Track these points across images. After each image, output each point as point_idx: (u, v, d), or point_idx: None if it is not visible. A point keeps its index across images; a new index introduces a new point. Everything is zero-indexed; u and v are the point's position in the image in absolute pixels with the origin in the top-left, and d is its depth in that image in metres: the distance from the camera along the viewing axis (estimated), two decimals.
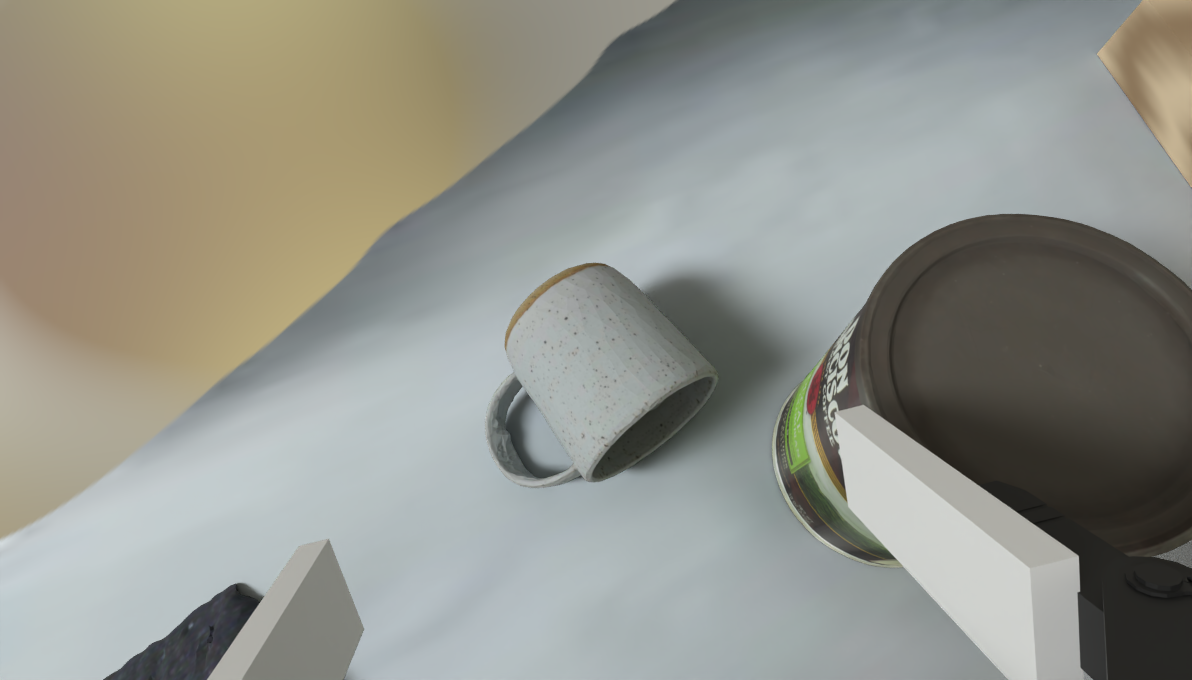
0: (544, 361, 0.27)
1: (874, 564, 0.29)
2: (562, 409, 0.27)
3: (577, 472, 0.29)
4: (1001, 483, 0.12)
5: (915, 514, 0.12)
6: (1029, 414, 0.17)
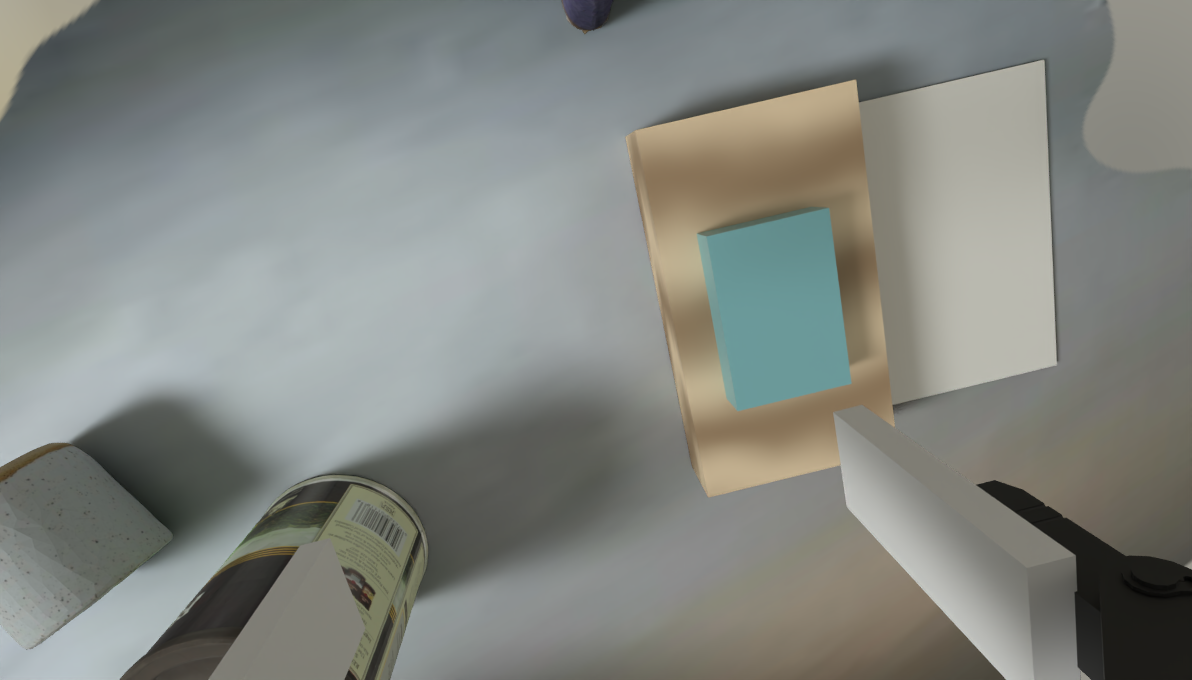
0: None
1: None
2: None
3: None
4: (998, 483, 0.12)
5: (913, 514, 0.12)
6: None
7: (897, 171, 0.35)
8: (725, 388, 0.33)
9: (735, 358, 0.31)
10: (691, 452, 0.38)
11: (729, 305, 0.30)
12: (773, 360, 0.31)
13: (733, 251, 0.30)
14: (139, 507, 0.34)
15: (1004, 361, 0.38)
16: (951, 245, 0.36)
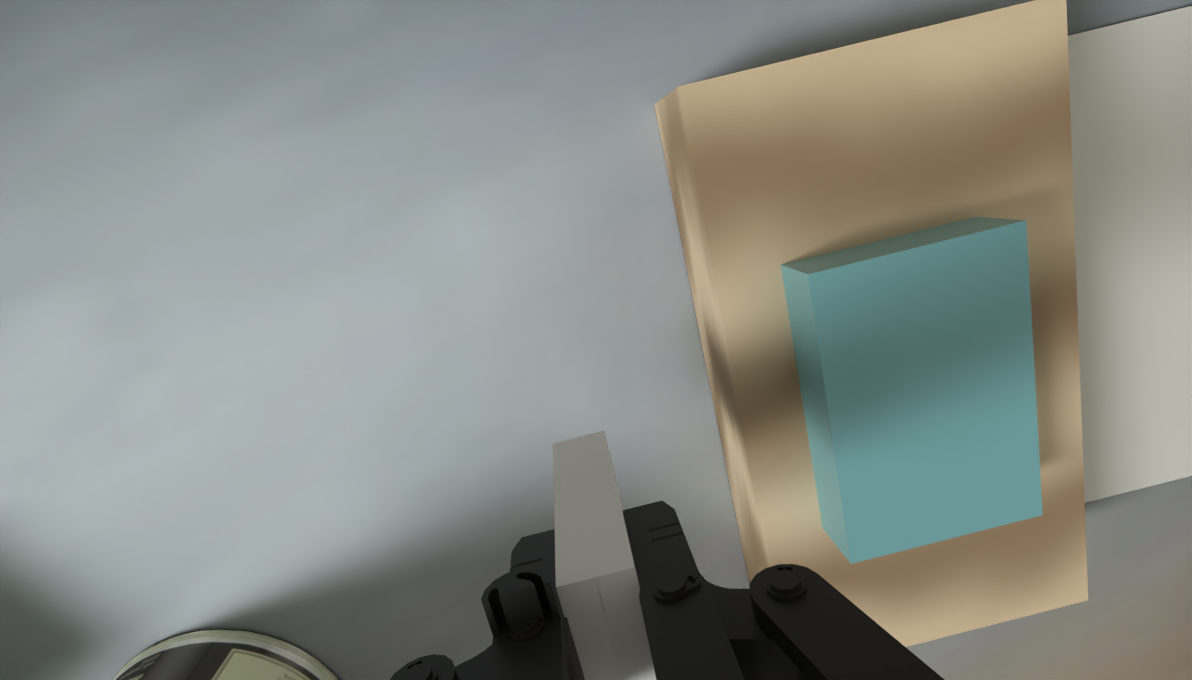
0: None
1: None
2: None
3: None
4: (664, 503, 0.15)
5: None
6: None
7: (1086, 156, 0.22)
8: (822, 514, 0.20)
9: (850, 479, 0.18)
10: None
11: (843, 392, 0.17)
12: (915, 481, 0.18)
13: (854, 299, 0.17)
14: None
15: None
16: (1161, 271, 0.23)
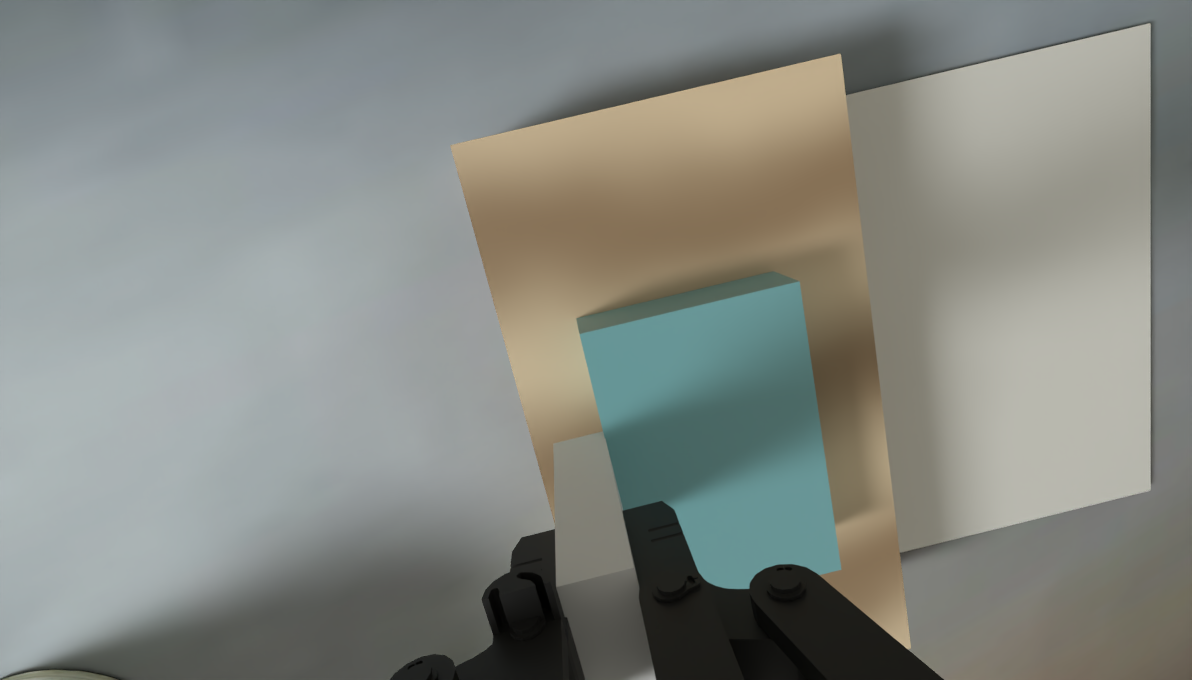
0: None
1: None
2: None
3: None
4: (663, 503, 0.15)
5: None
6: None
7: (911, 204, 0.22)
8: None
9: None
10: None
11: (626, 449, 0.17)
12: (707, 536, 0.18)
13: (629, 358, 0.17)
14: None
15: (1072, 486, 0.25)
16: (995, 317, 0.23)
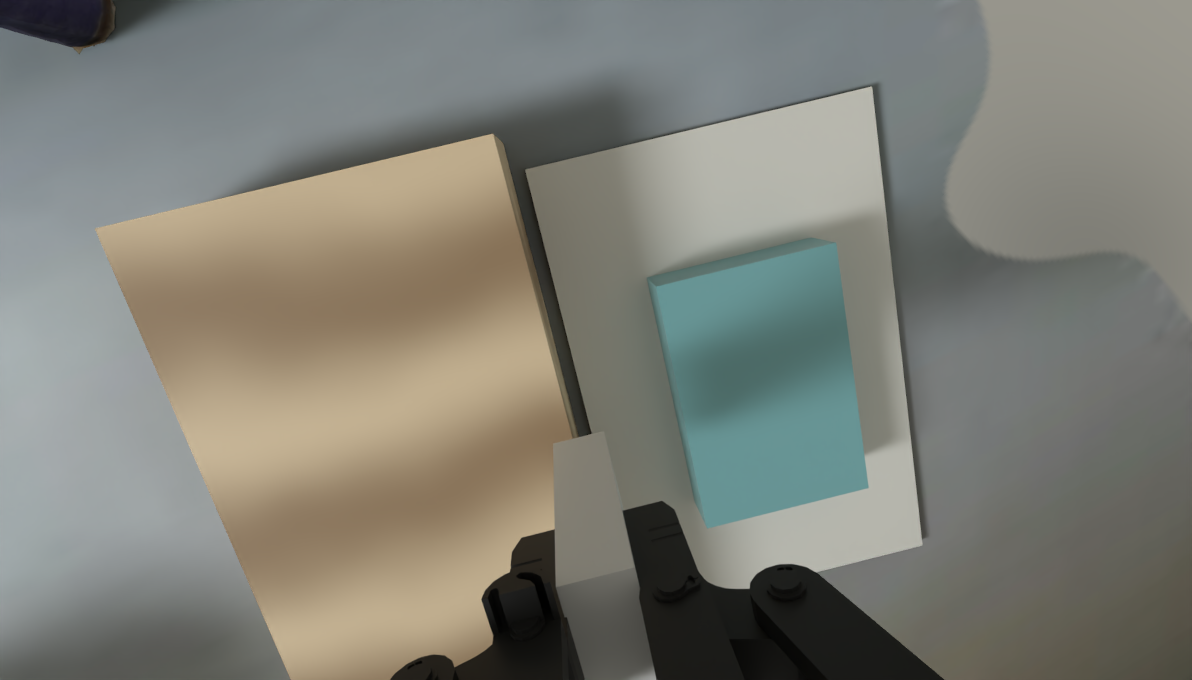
0: None
1: None
2: None
3: None
4: (664, 503, 0.15)
5: None
6: None
7: (642, 267, 0.22)
8: None
9: None
10: None
11: None
12: None
13: None
14: None
15: (840, 542, 0.25)
16: None
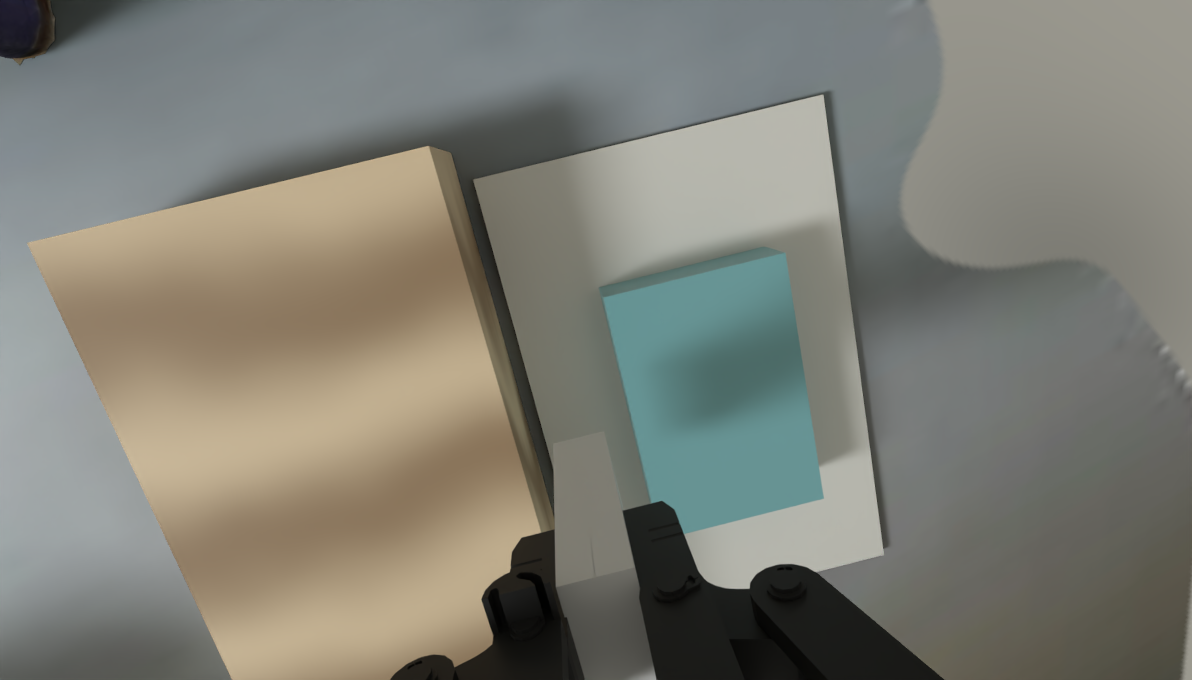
0: None
1: None
2: None
3: None
4: (664, 503, 0.15)
5: None
6: None
7: (594, 277, 0.22)
8: None
9: None
10: None
11: None
12: None
13: None
14: None
15: (801, 552, 0.25)
16: None
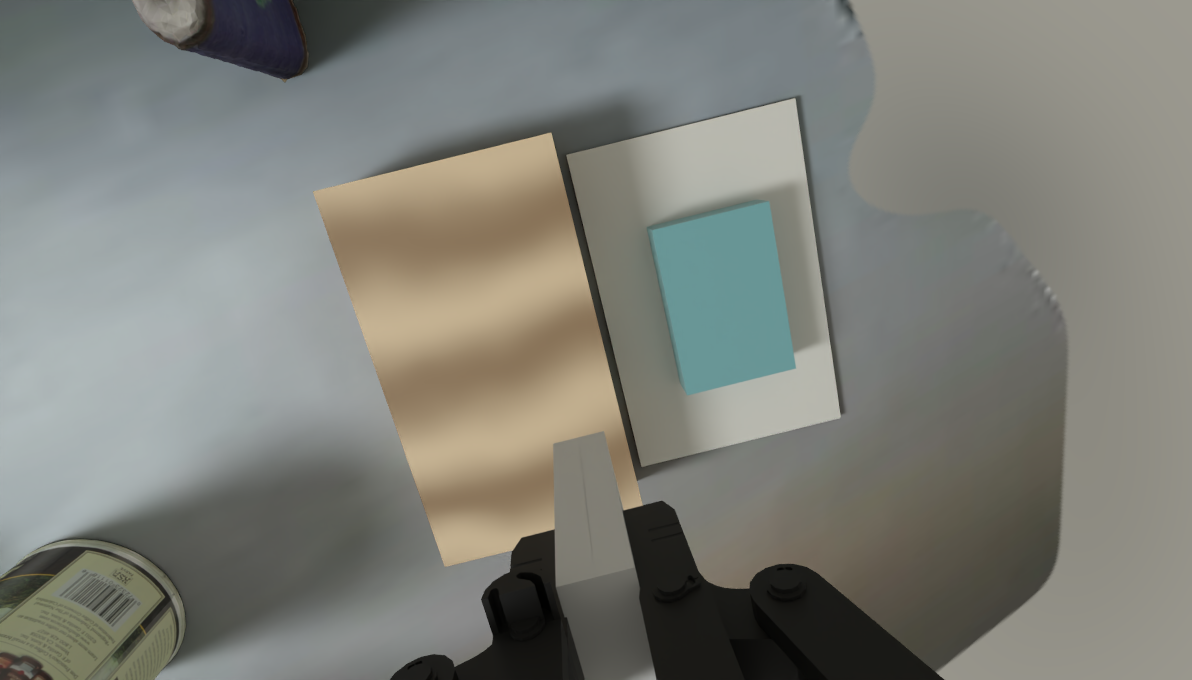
0: None
1: None
2: None
3: None
4: (664, 503, 0.15)
5: None
6: None
7: (643, 220, 0.33)
8: None
9: None
10: None
11: None
12: None
13: None
14: None
15: (782, 415, 0.36)
16: None
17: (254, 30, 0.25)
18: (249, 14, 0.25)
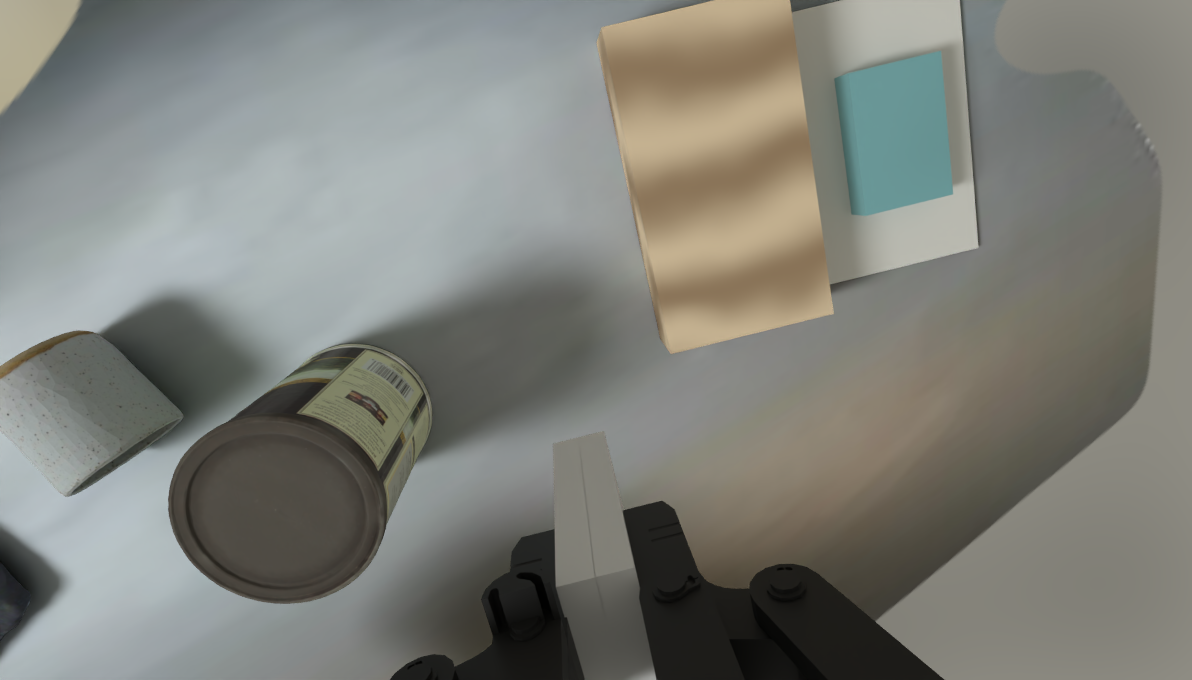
0: (7, 437, 0.37)
1: None
2: None
3: None
4: (664, 503, 0.15)
5: None
6: (266, 535, 0.31)
7: (832, 72, 0.41)
8: None
9: None
10: (658, 323, 0.43)
11: None
12: None
13: None
14: (154, 387, 0.41)
15: (932, 244, 0.44)
16: None
17: None
18: None
